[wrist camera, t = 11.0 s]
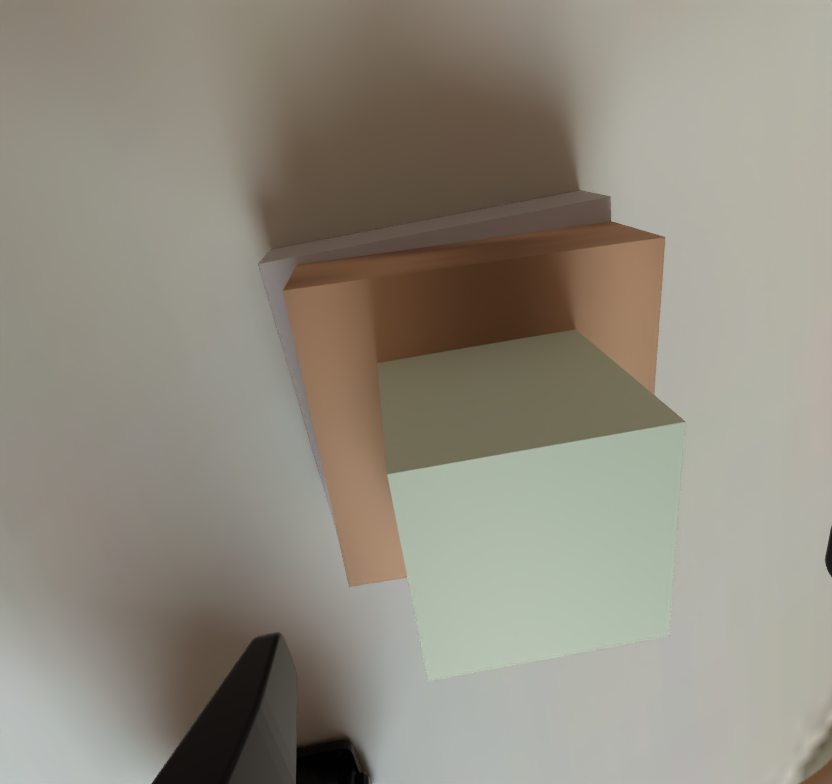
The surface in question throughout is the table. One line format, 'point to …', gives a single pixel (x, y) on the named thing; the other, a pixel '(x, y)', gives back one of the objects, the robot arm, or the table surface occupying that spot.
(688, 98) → the table surface
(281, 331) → the bottom slab
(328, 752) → the robot arm
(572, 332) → the green cube
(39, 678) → the table surface
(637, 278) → the top slab
